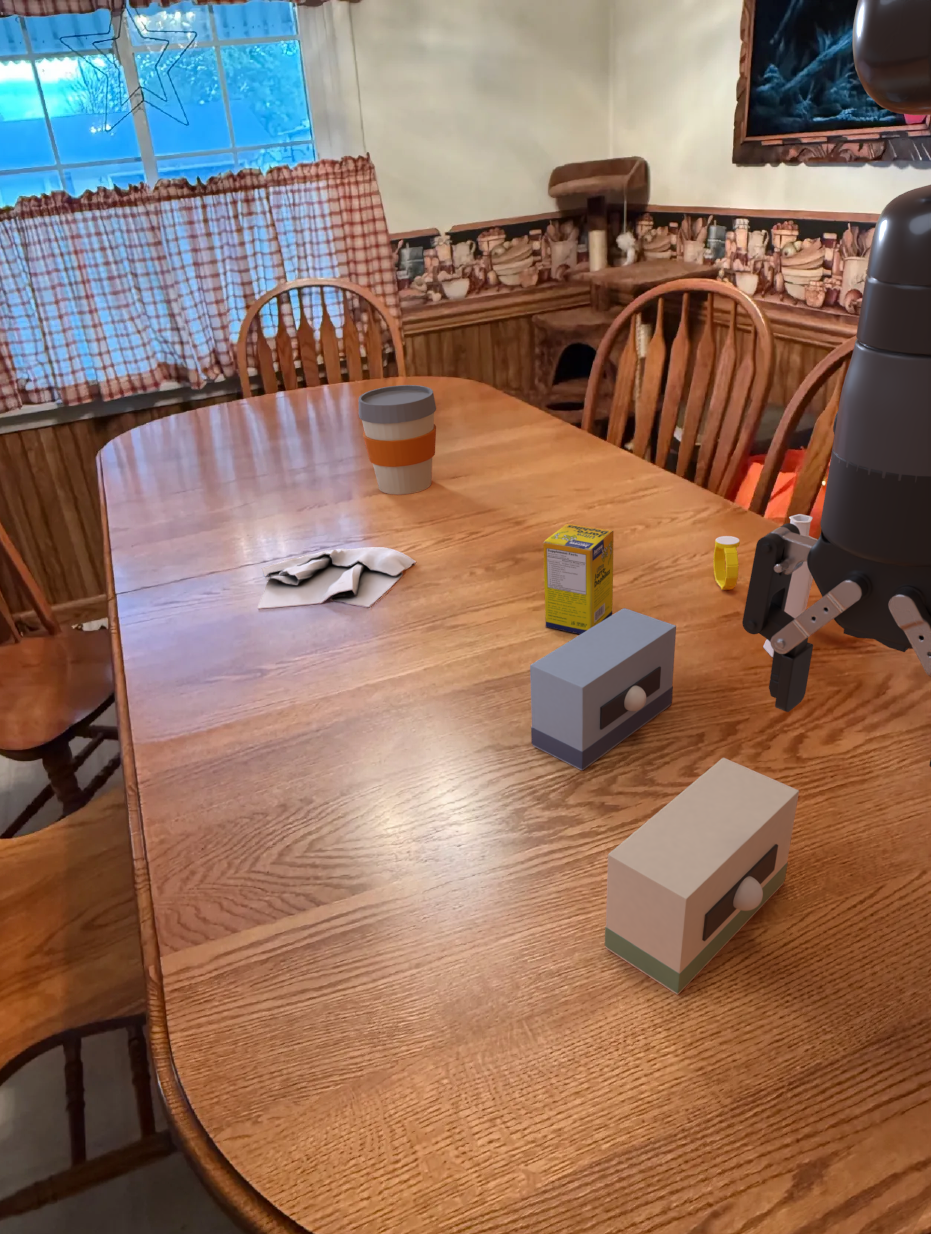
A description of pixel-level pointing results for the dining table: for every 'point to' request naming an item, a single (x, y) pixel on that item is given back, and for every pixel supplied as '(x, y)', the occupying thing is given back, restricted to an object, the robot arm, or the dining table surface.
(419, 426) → the reusable coffee cup
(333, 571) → the cloth
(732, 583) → the watch
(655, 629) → the blue tissue box
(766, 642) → the perfume bottle
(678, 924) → the cream tissue box
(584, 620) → the supplement box
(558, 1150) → the dining table surface
